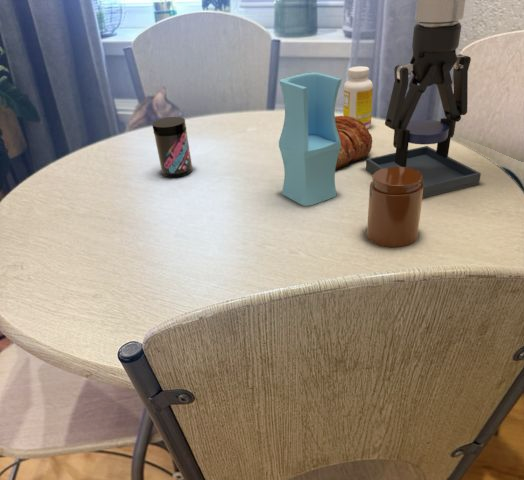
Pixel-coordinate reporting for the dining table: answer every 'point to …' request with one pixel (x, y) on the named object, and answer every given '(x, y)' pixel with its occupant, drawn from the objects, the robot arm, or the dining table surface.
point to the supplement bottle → (358, 95)
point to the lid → (427, 131)
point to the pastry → (352, 140)
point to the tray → (431, 170)
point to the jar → (394, 206)
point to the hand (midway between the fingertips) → (421, 159)
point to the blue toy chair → (309, 137)
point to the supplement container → (172, 146)
